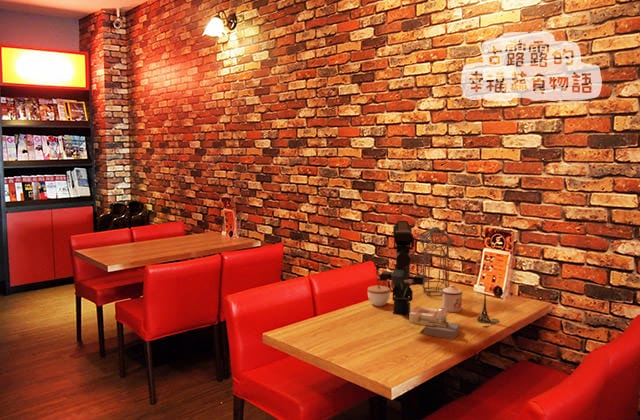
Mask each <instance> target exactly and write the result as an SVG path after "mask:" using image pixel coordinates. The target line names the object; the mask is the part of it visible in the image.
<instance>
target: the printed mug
mask: <svg viewBox="0 0 640 420" xmlns="http://www.w3.org/2000/svg"><path fill="white" fill-rule="evenodd" d="M442 292H443V296H442V306H441V308H446V309H447V312H449V313H459V312H460V311H462V301H463V300H462V299H463V291H462V290H461V289H460V288H458V287H456V286H455V284H449V287H448V288H446V287H445V288H444V289H443V291H441V293H442Z"/></svg>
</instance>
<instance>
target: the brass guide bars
mask: <svg viewBox="0 0 640 420" xmlns="http://www.w3.org/2000/svg"><path fill="white" fill-rule="evenodd" d="M421 321H428V322H435V323H428V322H421ZM448 322H449V321H446V323H444V324H440V323H439V322H438V319H437V320H436V319H429V318H422V313H416V314H415V315H414V316H413V323H412V324H413V325H421V326H426V325H427V326H439V327H447V325H448Z"/></svg>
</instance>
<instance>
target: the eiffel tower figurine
mask: <svg viewBox="0 0 640 420" xmlns="http://www.w3.org/2000/svg"><path fill="white" fill-rule="evenodd" d="M486 296H487V295H486V294H484V300H483V307H482V309H481V310H482V311H481V312H480V315H479V316H478V317H477V318H476V321H478V323H479V324H490V325H483V326H482V328H484V329H487V328H489V327H492V326H495V325H496V324H498V323H501V321H500V320H499V319H497V318H491V316H489V314H488V310H487V299H486V298H487V297H486ZM490 318H491V319H490Z"/></svg>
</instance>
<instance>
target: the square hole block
mask: <svg viewBox="0 0 640 420" xmlns="http://www.w3.org/2000/svg"><path fill="white" fill-rule="evenodd" d="M416 313H422V318H429V319H436V320H438V314H439V309H435V308H428V307H419V306H415V307H414V308H413V309H412V310H410V312H409V313H408V314H409V316H408V318H409V319H408V321H409V322H408V323H412V324H413V316H414V315H415V314H416ZM421 322H428V321H421ZM428 323H429V322H428Z"/></svg>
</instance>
